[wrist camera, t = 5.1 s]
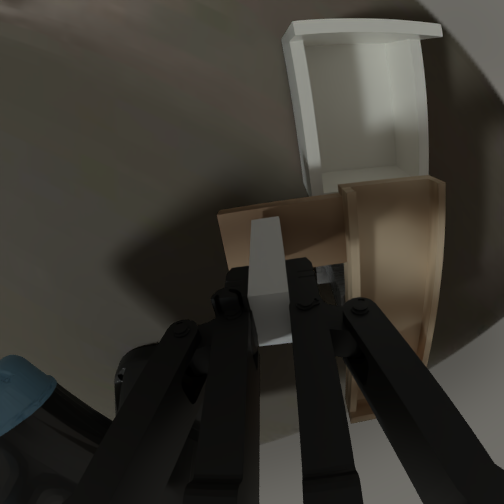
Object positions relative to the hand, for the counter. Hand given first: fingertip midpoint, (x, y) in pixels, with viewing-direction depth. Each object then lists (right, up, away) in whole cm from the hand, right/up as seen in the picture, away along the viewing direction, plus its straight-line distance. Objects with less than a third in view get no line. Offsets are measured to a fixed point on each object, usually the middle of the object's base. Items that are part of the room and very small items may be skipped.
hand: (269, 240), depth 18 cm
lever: (+5, -4, +5) cm, 8 cm away
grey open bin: (+6, +10, +4) cm, 13 cm away
